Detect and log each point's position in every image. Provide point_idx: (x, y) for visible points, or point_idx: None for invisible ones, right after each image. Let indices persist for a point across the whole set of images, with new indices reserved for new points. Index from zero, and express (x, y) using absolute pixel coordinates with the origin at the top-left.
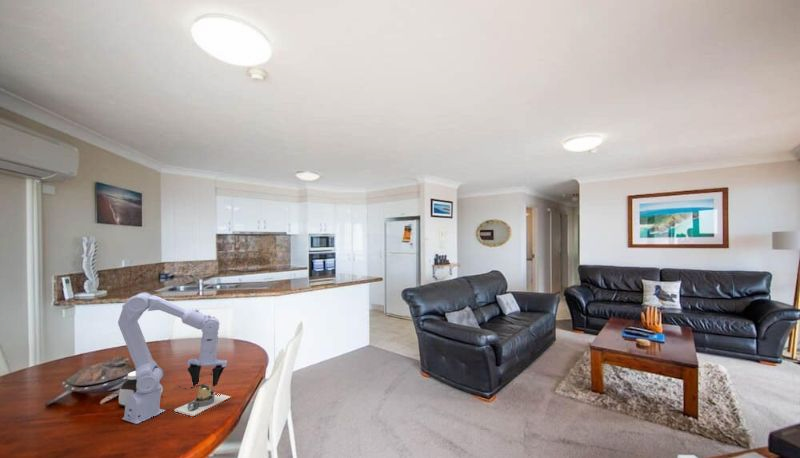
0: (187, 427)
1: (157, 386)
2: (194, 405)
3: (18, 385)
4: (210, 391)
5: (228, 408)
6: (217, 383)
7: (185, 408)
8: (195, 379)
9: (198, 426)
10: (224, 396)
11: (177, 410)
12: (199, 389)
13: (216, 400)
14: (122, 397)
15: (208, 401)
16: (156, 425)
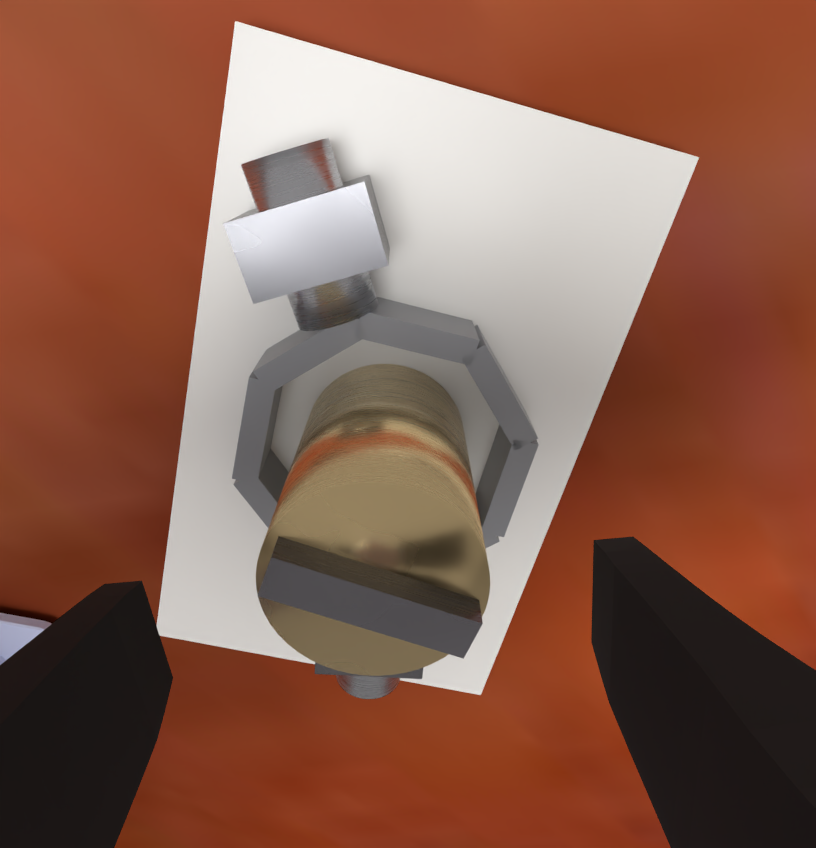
0: (541, 792)
1: None
2: None
3: None
4: (330, 260)
5: (775, 437)
6: (647, 551)
7: None
8: (108, 781)
9: (631, 769)
10: (579, 173)
11: (215, 645)
12: (331, 656)
13: (527, 338)
14: None
15: (509, 521)
16: (237, 803)
